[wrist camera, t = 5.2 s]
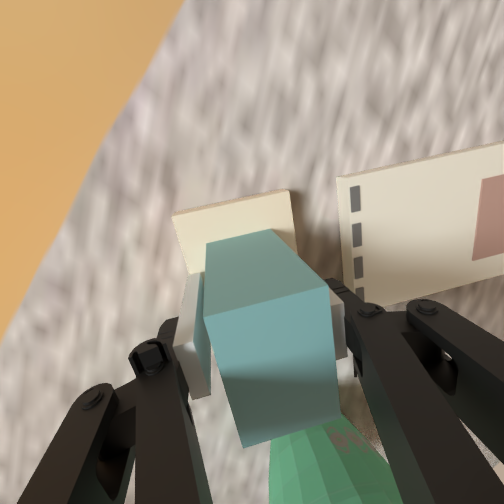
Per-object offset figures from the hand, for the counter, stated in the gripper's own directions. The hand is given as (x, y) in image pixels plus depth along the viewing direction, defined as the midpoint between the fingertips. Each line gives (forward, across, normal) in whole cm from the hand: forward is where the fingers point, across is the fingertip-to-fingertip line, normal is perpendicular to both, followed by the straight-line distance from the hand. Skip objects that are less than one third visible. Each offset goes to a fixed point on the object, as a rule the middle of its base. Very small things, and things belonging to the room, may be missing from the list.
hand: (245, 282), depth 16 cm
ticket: (+2, +16, 0) cm, 17 cm away
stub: (+2, 0, 0) cm, 2 cm away
